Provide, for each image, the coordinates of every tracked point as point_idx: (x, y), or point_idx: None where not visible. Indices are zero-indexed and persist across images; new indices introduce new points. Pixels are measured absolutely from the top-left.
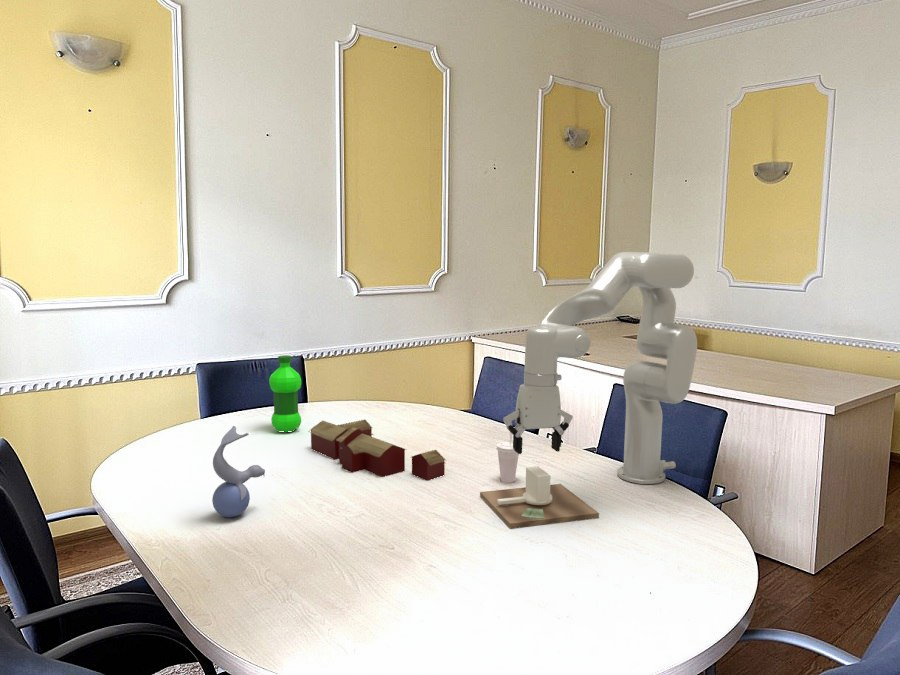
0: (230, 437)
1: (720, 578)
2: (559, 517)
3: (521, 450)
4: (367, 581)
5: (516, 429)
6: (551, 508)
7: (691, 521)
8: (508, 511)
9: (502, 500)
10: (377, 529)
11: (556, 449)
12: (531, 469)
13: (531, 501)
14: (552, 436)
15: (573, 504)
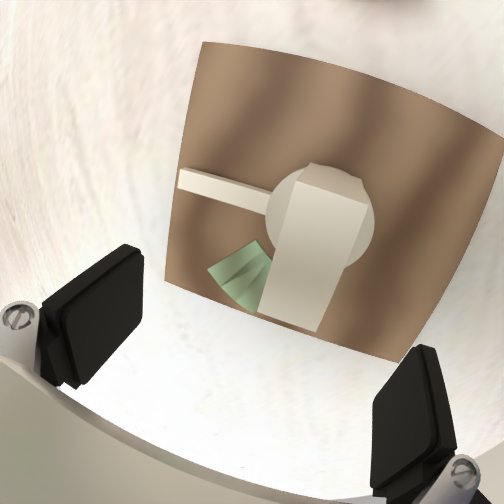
0: None
1: (333, 489)
2: (293, 329)
3: (128, 330)
4: (3, 272)
5: (15, 356)
6: None
7: (487, 426)
8: (195, 222)
9: (188, 186)
10: (6, 147)
11: (375, 405)
12: (300, 221)
13: (272, 241)
14: (421, 424)
15: (400, 295)
